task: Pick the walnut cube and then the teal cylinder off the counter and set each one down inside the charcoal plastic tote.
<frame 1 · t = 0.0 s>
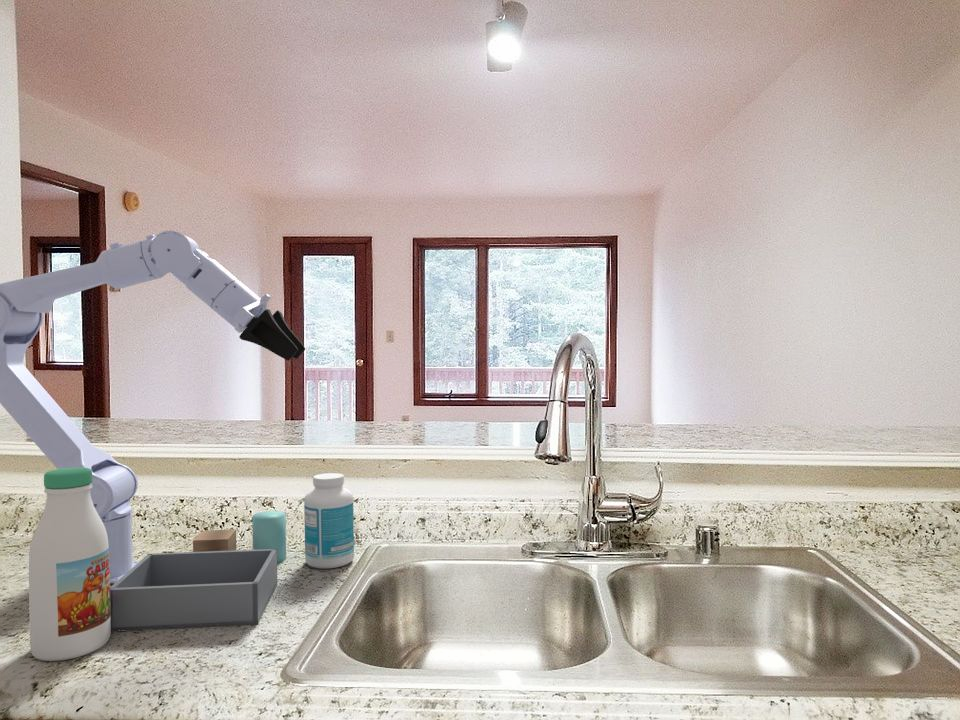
hand: (297, 354, 99), 32 cm above the counter, tool tilted 50°, fingers open, 7 cm apart
pill bottle: (329, 563, 102), on the counter
teal cylinder: (269, 559, 104), on the counter
tote: (200, 605, 86), on the counter
milk bottle: (71, 648, 74), on the counter
walnut cube: (215, 567, 100), on the counter
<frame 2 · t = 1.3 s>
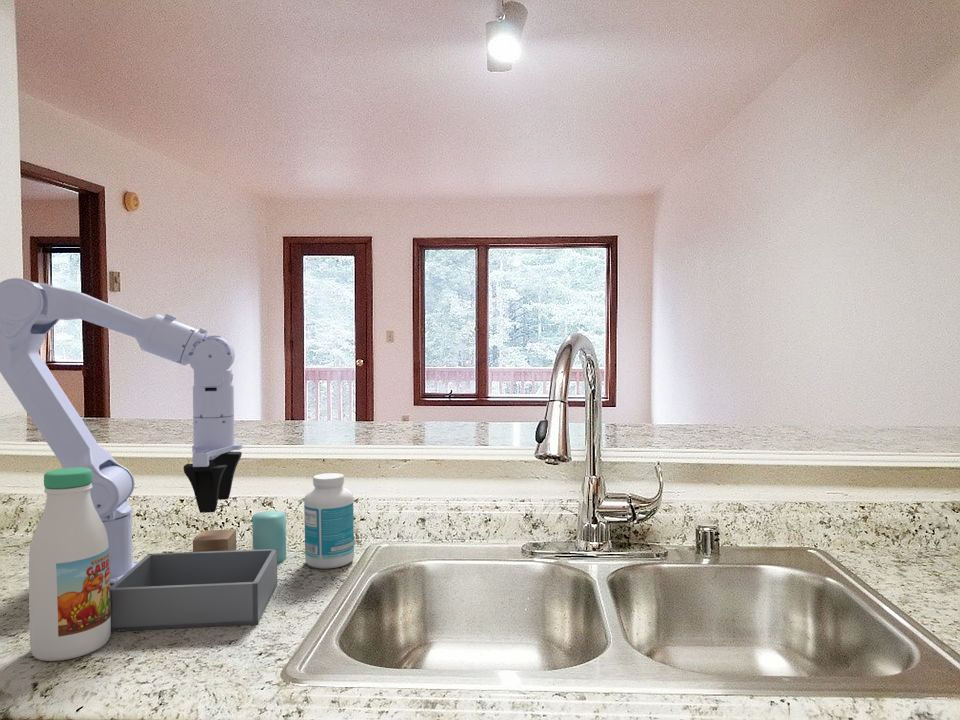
hand: (214, 505, 100), 9 cm above the counter, tool pointing down, fingers open, 7 cm apart
nothing on the counter moved.
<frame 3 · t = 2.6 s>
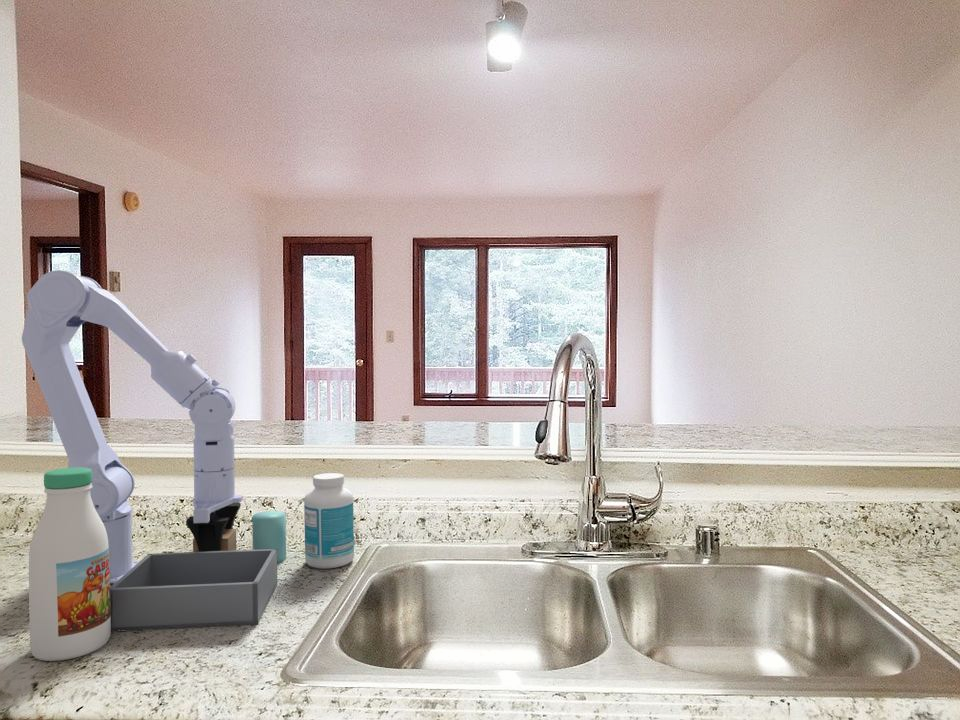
hand: (215, 557, 100), 1 cm above the counter, tool pointing down, fingers closed on walnut cube, 5 cm apart
walnut cube: (215, 566, 100), on the counter, touching gripper
everything else where it was.
when the fingers open (4 cm above the counter, at t = 5.7 s): walnut cube drops 1 cm, resting on tote.
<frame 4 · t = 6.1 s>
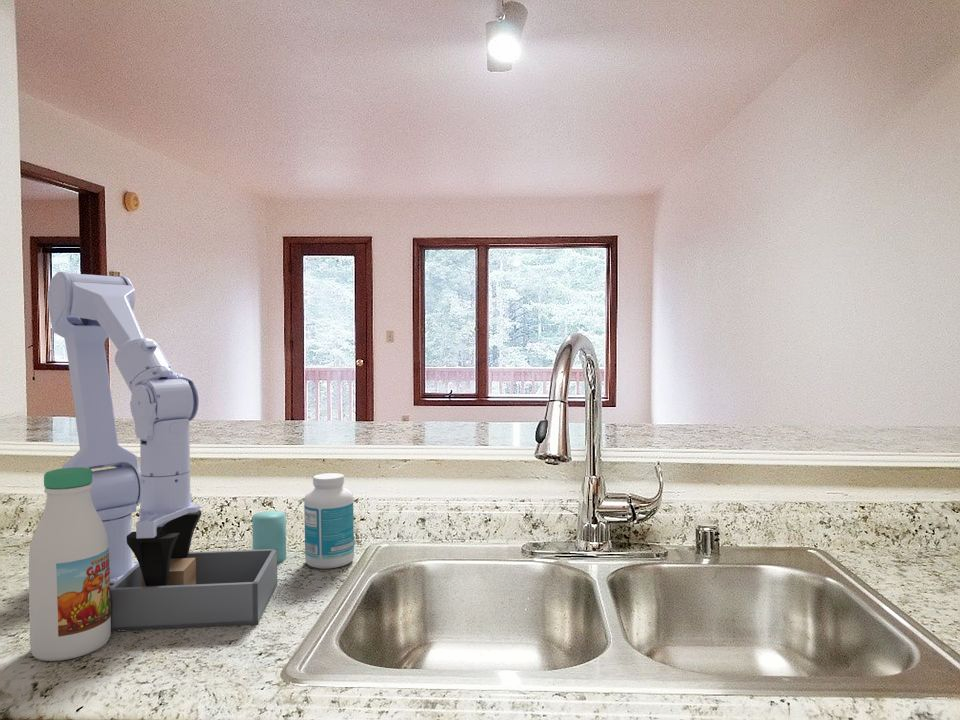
hand: (167, 577, 85), 4 cm above the counter, tool pointing down, fingers open, 7 cm apart
walnut cube: (170, 603, 85), resting on tote
everything else where it was.
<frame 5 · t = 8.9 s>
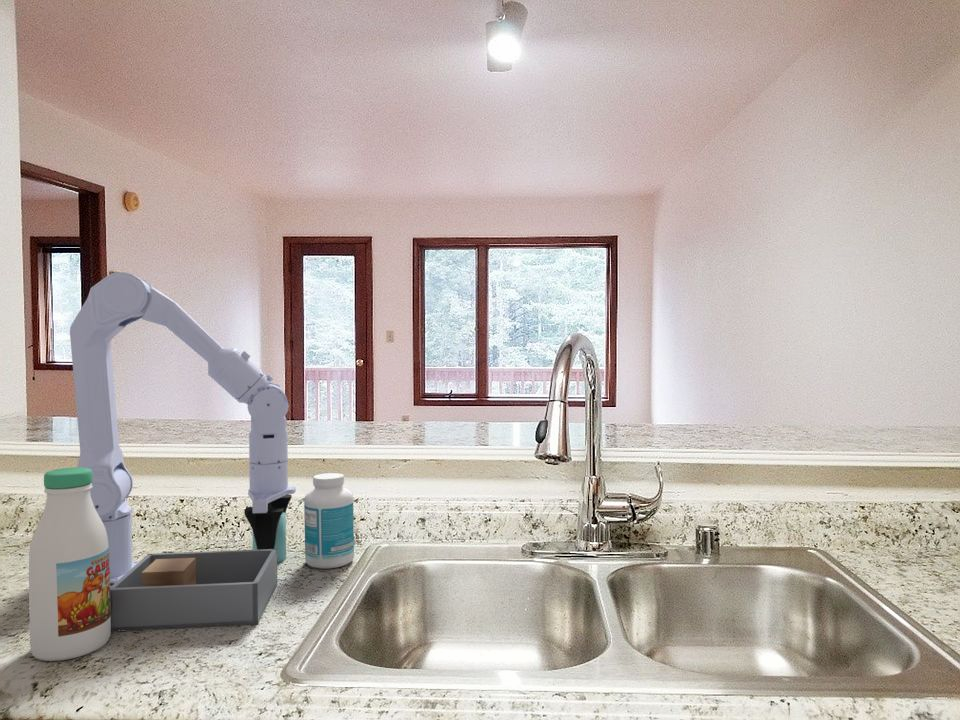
hand: (269, 547, 104), 2 cm above the counter, tool pointing down, fingers closed on teal cylinder, 5 cm apart
teal cylinder: (269, 559, 104), on the counter, touching gripper
everything else where it was.
when the fingers open (4 cm above the counter, at t = 12.3 s): teal cylinder drops 2 cm, resting on tote.
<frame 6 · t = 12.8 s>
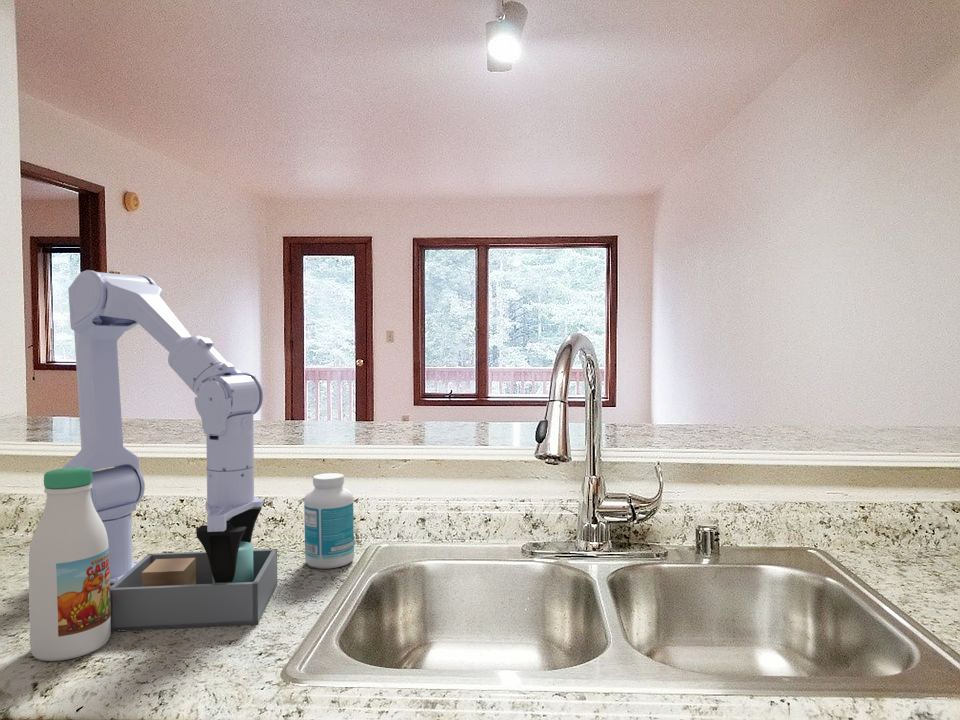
hand: (231, 570, 86), 4 cm above the counter, tool pointing down, fingers open, 7 cm apart
teal cylinder: (233, 600, 86), point 1 cm above the counter, touching tote
everything else where it was.
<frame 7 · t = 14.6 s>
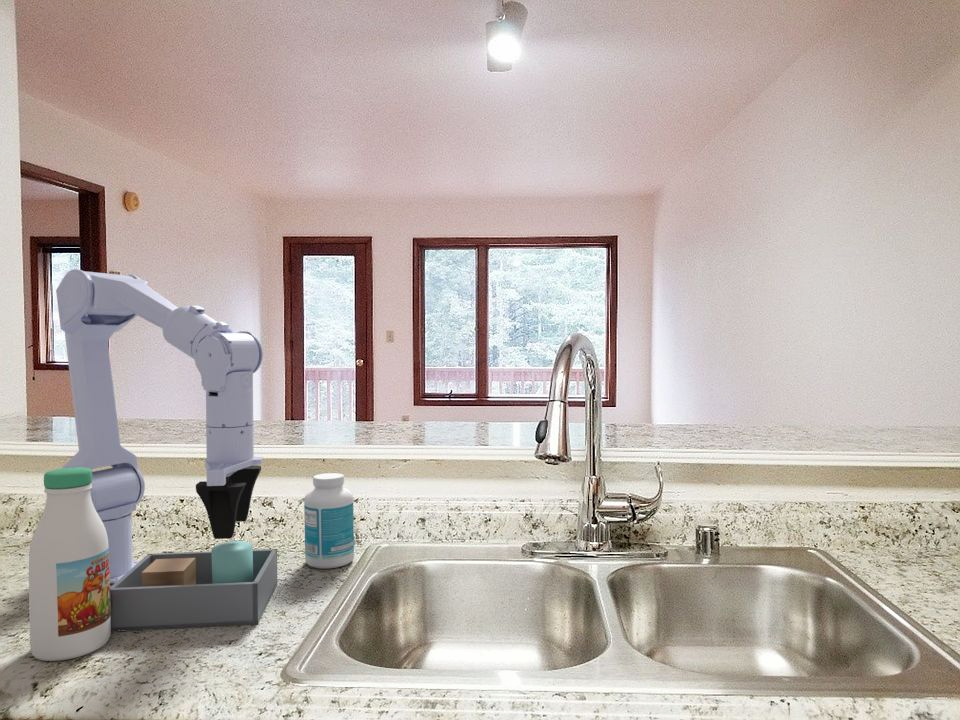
hand: (231, 529, 86), 10 cm above the counter, tool pointing down, fingers open, 7 cm apart
nothing on the counter moved.
at the end: walnut cube inside the target area on the tote (3.7 cm from its centre), point 0.5 cm above the tote's base; teal cylinder inside the target area on the tote (4.2 cm from its centre), point 0.5 cm above the tote's base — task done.
